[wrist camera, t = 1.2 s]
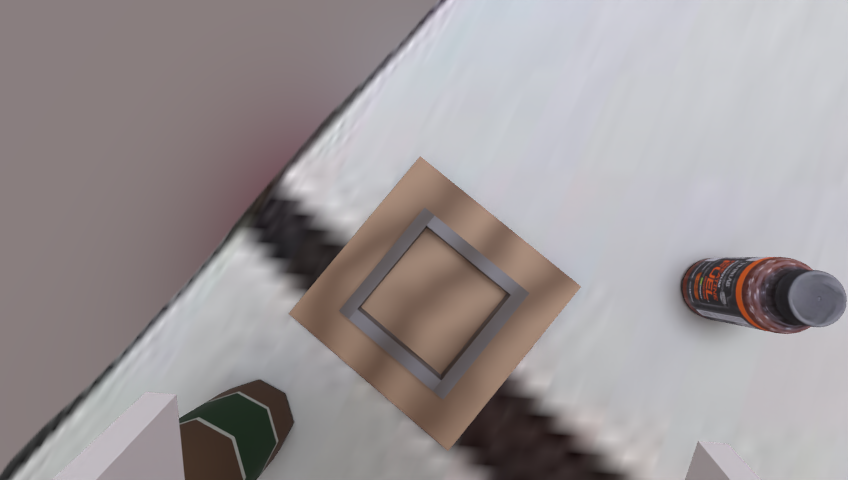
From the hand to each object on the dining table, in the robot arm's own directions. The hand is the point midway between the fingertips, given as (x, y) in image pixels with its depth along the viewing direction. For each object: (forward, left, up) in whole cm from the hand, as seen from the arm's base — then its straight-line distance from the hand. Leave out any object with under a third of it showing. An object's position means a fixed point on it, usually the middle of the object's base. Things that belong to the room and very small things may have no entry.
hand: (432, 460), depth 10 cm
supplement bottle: (-19, -19, -30) cm, 40 cm away
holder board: (+1, -1, -30) cm, 30 cm away
